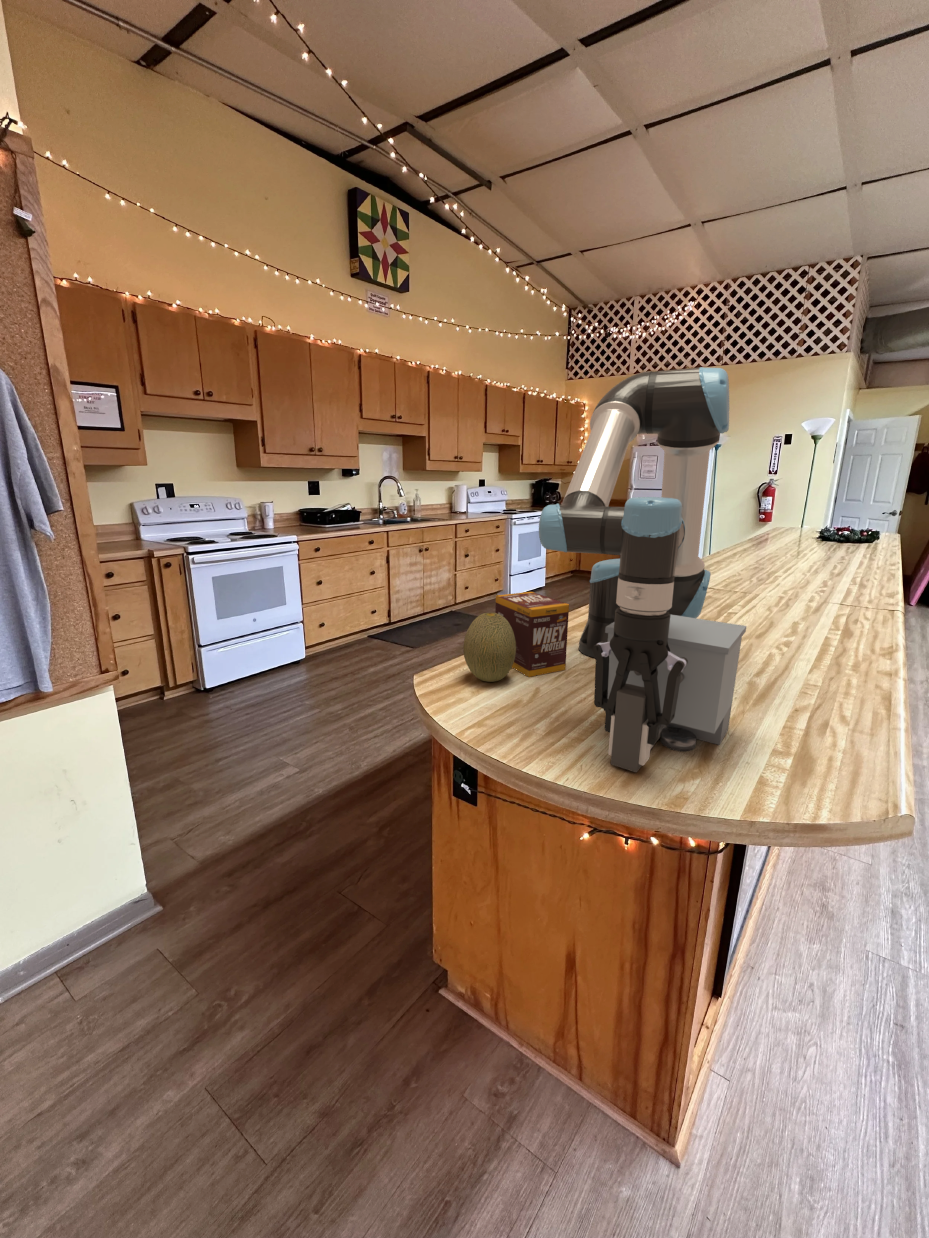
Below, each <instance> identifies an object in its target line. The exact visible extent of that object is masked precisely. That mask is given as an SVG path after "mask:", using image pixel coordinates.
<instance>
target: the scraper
mask: <svg viewBox="0 0 929 1238" xmlns="http://www.w3.org/2000/svg"><path fill="white" fill-rule="evenodd" d="M647 719H648V716H647V707H646V696H645V690H644V687H640V686H636V685H632V684H627V683H626V684H625V686H624V687H622V688H621V689H620V690H618V691H617V697H616V709H615V720H614V731H613V743H612V754H611V755H610V765H612V766H614V767H619V768H621V769H624V770H627V771H630V772H633V773H637V772H638V771H639V770H640V769H641V767H642V766H643V765H640V764H639V755H640V745H641V735H642V726H643V723H644V722H645V721H646V720H647ZM666 727H667V725H663V724H661V725H660V728H659V737H658V740H659V739H661V731H662V730H663V729H665V728H666ZM654 746H655V744H654V745H651V748H650V750H651V749H652V748H653V747H654Z"/></svg>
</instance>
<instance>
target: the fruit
mask: <svg viewBox="0 0 929 1238" xmlns="http://www.w3.org/2000/svg"><path fill="white" fill-rule="evenodd" d="M462 647H463V648H462V649H463V650H462V651H463V657H464V660H465V663H466V665H467V668H468V670H470V672H471V674H472V675H474V677H475V678H477V679H479V680H480V681H483V682H487V683H495V682H498V681H501V680H503V679H505V678H506V677H507V675H508V674H510V672H511V670H512V669H513V668H512V665H513V663H514V659H515V654H516V641H515V636H514V633H513V630H512V628H511V626H510V624H509V622H508V621H507V620H506V619H505V618H504V617H503V616H502V615H500V614H497V613H495V612H485V613H482V614H480V615H478V616H477V617H475V619H473V621H472V622H471V623H470V625H469V626H468V628H467V631H466V633H465V635H464V639H463V645H462Z"/></svg>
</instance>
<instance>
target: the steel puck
mask: <svg viewBox="0 0 929 1238" xmlns="http://www.w3.org/2000/svg"><path fill="white" fill-rule="evenodd" d="M659 739H660V740H659V741H660V744H661V745H662V746H663V747H665V748H667V749H669V750H671V751H672V750H673V751H676V752H682V753H683V752H685V753H686V752H692V751H693V750H695V748H696V745H697V744H696V743H697V739H696V736H695V734H693V733H692V732H690V731H688V730H685V729H682V728H675V727H670V728H665V729H663V730H662V731H661V737H660V738H659Z"/></svg>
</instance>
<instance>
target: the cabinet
mask: <svg viewBox="0 0 929 1238" xmlns="http://www.w3.org/2000/svg"><path fill="white" fill-rule="evenodd" d="M746 631H747V625H742V624H738V623H730V622H722V621H718V620H717V621H716V620H710V619H709V620H708V619H704V618H703V619H701V618H698V617H697V618H690V617H684V616H677V615H671V616H670V625H669V634H668V645H669V648H670V652H671V653H672V654H674V655H676V656H677V657H679V658H682V657H685V658H686V659H687V660H688V663H687V665H686V667H685V668H684V670H683V671H682V673H681V680H680V686H679V692H678V698H677V704H676V711H675V717H674V719H673V720H672V721H671V722H670V724H669V725H667V727H666V728H670V727H675V728H682V729H685V730H688V731H690V732H692V733H693V734H695V736H696V740H700V741H703V742H707V743H711V744H714V745H717V746H720V745H721V744H722V741H723V740H724V738H725V736H726V734H727V733H728V731H729V727H730V722H731V721H730V720H731V713H732V705H733V701H734V691H735V686H736V681H737V680H736V679H737V673H738V672H737V671H738V666H739V665H738V664H739V659H740V654H741V652H740V651H741V645H742V640H743V639H742V638H743V636H744V635H745V633H746ZM605 633H608V642H610V640H611V639H612V637H613V635H614V622H613V623H611V624H610V625H608V626H606V628H605ZM618 663H619V662H618V660H617V658H616V656H615V655H614V653H613V651H612V649H611V654H610V655H609V678H608V698H609V695H610V692H611V688H612V685H613V682H614V679H615V676H616V669H617V666H618ZM667 665H668V663H667V661H666V660H664V661H663V662H662V663H661V664H660V665H659V666H658V667H657V669H658V675H657V680H658V689H659V698H660V707H661V713H662V711H663V705H664V698H665V692H666V685H667V679H668V675H669V673H670V670H668V668H667ZM626 683H627V684H632V685H636V686H640V687H644V682H643V680H642V674H641V673H639V672H637V671H630V672H629V675H628V678H627V681H626Z"/></svg>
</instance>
